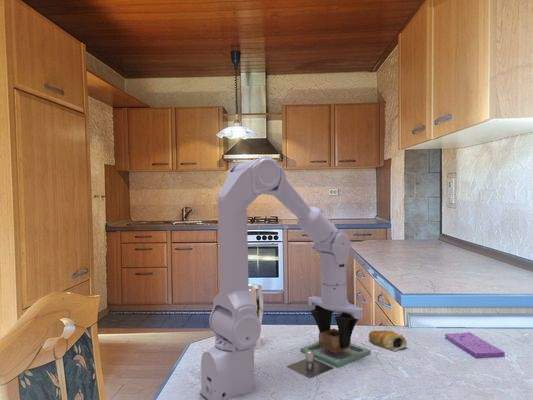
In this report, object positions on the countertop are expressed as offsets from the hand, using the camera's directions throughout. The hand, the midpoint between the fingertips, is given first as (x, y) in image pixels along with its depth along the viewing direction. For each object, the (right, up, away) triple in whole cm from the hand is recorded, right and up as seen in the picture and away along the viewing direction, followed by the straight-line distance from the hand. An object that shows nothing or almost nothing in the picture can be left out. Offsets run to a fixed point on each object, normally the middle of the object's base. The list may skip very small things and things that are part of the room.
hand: (335, 343), depth 82 cm
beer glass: (-20, -4, +6) cm, 21 cm away
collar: (0, -1, 0) cm, 1 cm away
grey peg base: (-7, -3, -7) cm, 10 cm away
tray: (0, -3, 0) cm, 3 cm away
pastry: (+14, -4, +7) cm, 16 cm away
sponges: (+34, -4, +5) cm, 34 cm away
